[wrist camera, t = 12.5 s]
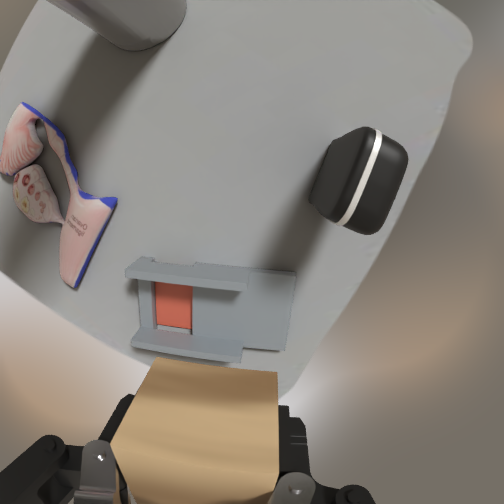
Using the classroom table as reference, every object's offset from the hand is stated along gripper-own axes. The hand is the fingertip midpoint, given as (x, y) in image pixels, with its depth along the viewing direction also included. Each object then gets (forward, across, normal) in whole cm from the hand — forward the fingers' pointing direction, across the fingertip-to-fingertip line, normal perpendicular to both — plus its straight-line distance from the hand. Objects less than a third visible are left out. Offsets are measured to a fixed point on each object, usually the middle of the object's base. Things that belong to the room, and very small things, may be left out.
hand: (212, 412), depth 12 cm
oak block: (0, 0, 0) cm, 1 cm away
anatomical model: (+20, +24, -7) cm, 32 cm away
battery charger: (+20, -8, -10) cm, 23 cm away
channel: (+19, +3, +4) cm, 20 cm away
